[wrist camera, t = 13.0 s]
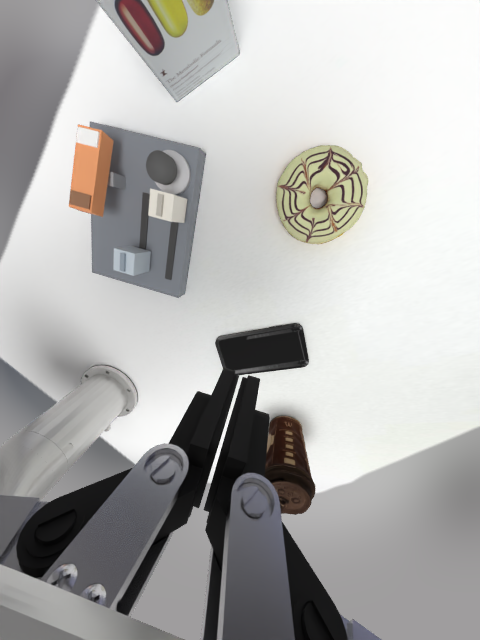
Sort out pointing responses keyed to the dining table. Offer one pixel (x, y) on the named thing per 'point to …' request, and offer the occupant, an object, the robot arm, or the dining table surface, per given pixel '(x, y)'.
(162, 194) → the ivory knob
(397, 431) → the dining table surface
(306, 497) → the coffee cup
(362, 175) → the decorated donut
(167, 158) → the push button
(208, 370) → the dining table surface
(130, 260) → the slate knob
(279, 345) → the phone
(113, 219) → the console
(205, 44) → the supplement box
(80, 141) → the rocker switch
